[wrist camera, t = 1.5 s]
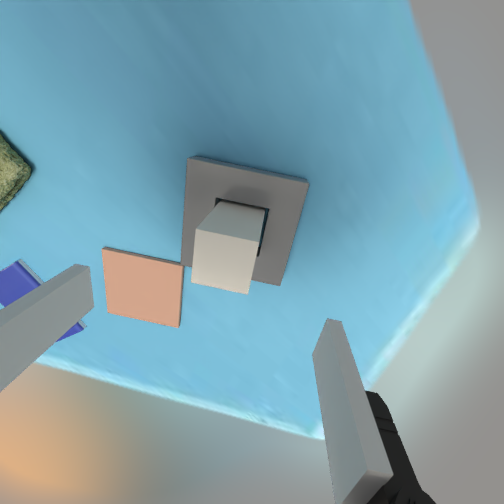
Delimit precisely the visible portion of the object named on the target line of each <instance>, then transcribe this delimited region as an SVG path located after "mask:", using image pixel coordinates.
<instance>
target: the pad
mask: <svg viewBox="0 0 504 504" xmlns="http://www.w3.org/2000/svg"><path fill="white" fill-rule="evenodd" d="M102 257H103V268H104V278H105V288H106V298H107V309H108V313H112V314H116V315H121V316H125V317H130V318H135V319H139V320H144V321H149V322H153V323H158V324H162V325H167V326H172V327H176V328H179V326H180V316H181V303H182V289H183V275H184V265H180V263H178V262H173V261H168V260H164V259H159V258H154V257H150V256H145V255H140V254H136V253H131V252H126V251H122V250H117V249H112V248H108V247H104V248H102Z"/></svg>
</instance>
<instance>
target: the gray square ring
mask: <svg viewBox="0 0 504 504" xmlns="http://www.w3.org/2000/svg"><path fill="white" fill-rule="evenodd" d="M308 187H309V182H308V181H307V179H303V178H298V177H293V176H288V175H284V174H279V173H274V172H269V171H265V170H260V169H255V168H250V167H246V166H241V165H236V164H231V163H227V162H222V161H217V160H213V159H208V158H203V157H198V156H193V157H190V158H187V170H186V185H185V201H184V216H183V232H182V247H181V263H180V265H184V266H188V267H192V265H193V254H194V243H195V231H196V228H197V227H198V226H199V225H200V223H201V222H202V221H203V220H204V219H205V218H206V217H207V215H208V214H209V213H210V212H211V211H212V210H213V209H214V208H215V206H216V205H217V204H218V203H219V202H220V198H221V199H226V200H231V201H235V202H240V203H245V204H250V205H254V206H259V207H264V208H269V211H268V216H267V220H266V225H265V229H264V234H263V238H262V242H261V247H258V250H257V255H256V259H255V264H254V269H253V273H252V278H251V280H254V281H258V282H263V283H268V284H272V285H277V286H280V285H281V281H282V278H283V274H284V271H285V267H286V264H287V260H288V257H289V253H290V250H291V246H292V243H293V239H294V236H295V232H296V229H297V225H298V222H299V218H300V215H301V212H302V208H303V205H304V201H305V198H306V194H307V191H308Z"/></svg>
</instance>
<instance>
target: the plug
mask: <svg viewBox="0 0 504 504" xmlns="http://www.w3.org/2000/svg"><path fill="white" fill-rule="evenodd" d="M264 213H265V208H264V207H259V206H254V205H250V204H245V203H240V202H235V201H231V200H226V199H222V200H221V201H220V202H219V203H218V204H217V205H216V206H215V208H214V209H213V210H212V211H211V212H210V213H209V214H208V215H207V217H206V218H205V219H204V220H203V221H202V222H201V223H200V225H199V226H198V227H197V228H196V231H195V243H194V254H193V265H192V276H191V282H192V283H196V284H201V285H206V286H210V287H215V288H220V289H224V290H229V291H234V292H238V293H243V294H248V291H249V287H250V282H251V278H252V273H253V269H254V264H255V259H256V255H257V250H258V246H259V241H260V236H261V230H262V225H263V219H264Z"/></svg>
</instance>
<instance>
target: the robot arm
mask: <svg viewBox="0 0 504 504" xmlns="http://www.w3.org/2000/svg"><path fill="white" fill-rule="evenodd" d="M93 307H94V302H93V293H92V285H91V276H90V267H89V266H84V265H79V264H74V265H73V266H71V267H70V268H68V269H66V270H65V271H63V272H61V273H60V274H58V275H57V276H55V277H53V278H52V279H50V280H48V281H47V282H45V283H44V284H42V285H40V286H39V287H37V288H35V289H34V290H32V291H31V292H29V293H27V294H26V295H24V296H22V297H21V298H19V299H18V300H16V301H14V302H13V303H11V304H9V305H8V306H6V307H5V308H3V309H1V310H0V392H1V391H2V390H3V389H4V388H5V387H6V386H7V385H9V384H10V383H11V382H12V381H13V380H14V379H15V378H16V377H17V376H18V375H20V374H21V373H22V372H23V371H24V370H25V369H26V368H27V367H28V366H29V365H30V364H32V363H33V362H34V361H35V360H36V359H37V358H38V357H39V356H41V355H42V354H43V353H44V352H45V351H46V350H47V349H48V348H49V347H50V346H52V345H53V344H54V343H55V342H56V341H57V340H58V339H59V338H60V337H61V336H63V335H64V334H65V333H66V332H67V331H68V330H69V329H70V328H71V327H72V326H74V325H75V324H76V323H77V322H78V321H79V320H80V319H81V318H82V317H83V316H85V315H86V314H87V313H88V312H89V311H90V310H91V309H92V308H93ZM312 356H313V363H314V369H315V376H316V382H317V389H318V395H319V402H320V408H321V415H322V421H323V428H324V434H325V441H326V447H327V453H328V459H329V466H330V473H331V479H332V486H333V492H334V498H335V504H436V503H435V502H434V501H433V500H432V499H431V497H430V496H429V495H428V494H427V493H425V492H424V491H422V489H421V487H420V485H419V483H418V481H417V479H416V476H415V474H414V471H413V468H412V466H411V464H410V461H409V459H408V456H407V454H406V451H405V449H404V446H403V444H402V441H401V439H400V437H399V435H398V431H397V429H396V427H395V424H394V423H393V419H392V417H391V414H390V412H389V409H388V407H387V405H386V404H385V403H384V401H383V400H382V398H381V397H380V396H379V395H378V393H374V392H370V391H365V390H364V387H363V384H362V381H361V378H360V375H359V372H358V369H357V366H356V363H355V360H354V357H353V354H352V352H351V349H350V346H349V343H348V340H347V337H346V334H345V331H344V328H343V325H342V322H341V321H337V320H333V319H328V318H327V320H326V322H325V325H324V327H323V330H322V332H321V334H320V337H319V339H318V342H317V344H316V347H315V349H314V351H313V354H312Z"/></svg>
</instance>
